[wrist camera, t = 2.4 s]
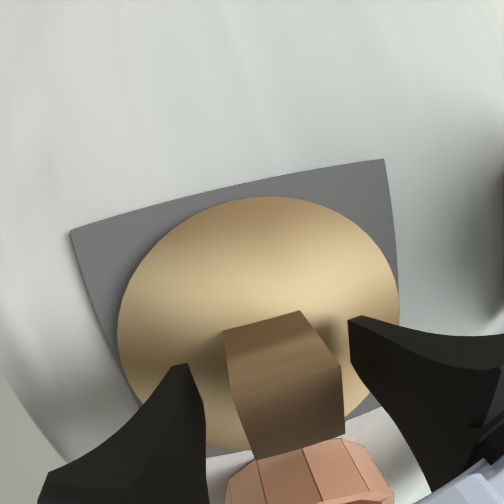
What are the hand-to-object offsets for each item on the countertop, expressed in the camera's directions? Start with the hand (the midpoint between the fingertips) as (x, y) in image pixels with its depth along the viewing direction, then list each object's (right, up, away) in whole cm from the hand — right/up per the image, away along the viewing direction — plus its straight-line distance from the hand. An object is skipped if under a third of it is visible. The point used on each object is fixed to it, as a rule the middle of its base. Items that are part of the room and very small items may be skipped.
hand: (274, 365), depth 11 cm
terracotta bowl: (+2, -12, +5) cm, 13 cm away
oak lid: (0, 0, +2) cm, 2 cm away
